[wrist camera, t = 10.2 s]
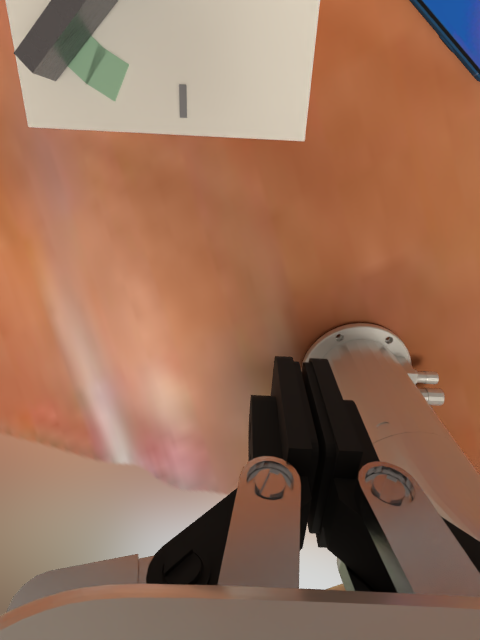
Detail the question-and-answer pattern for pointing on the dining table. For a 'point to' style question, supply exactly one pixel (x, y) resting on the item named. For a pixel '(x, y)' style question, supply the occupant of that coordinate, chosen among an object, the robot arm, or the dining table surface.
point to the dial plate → (181, 69)
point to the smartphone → (456, 28)
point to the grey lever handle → (61, 35)
